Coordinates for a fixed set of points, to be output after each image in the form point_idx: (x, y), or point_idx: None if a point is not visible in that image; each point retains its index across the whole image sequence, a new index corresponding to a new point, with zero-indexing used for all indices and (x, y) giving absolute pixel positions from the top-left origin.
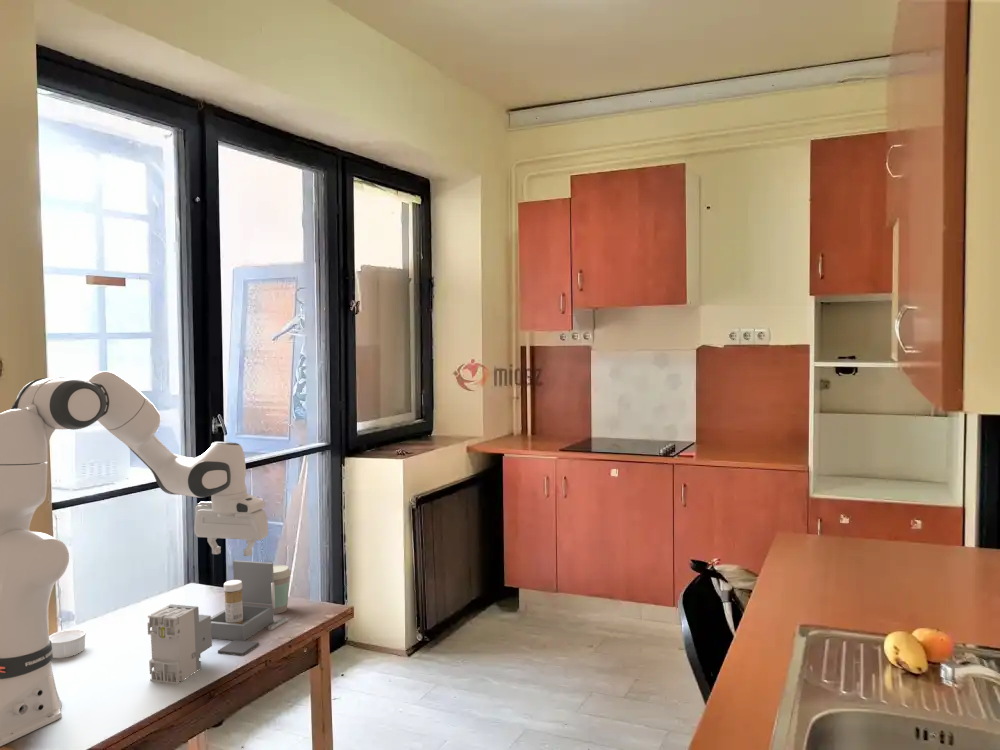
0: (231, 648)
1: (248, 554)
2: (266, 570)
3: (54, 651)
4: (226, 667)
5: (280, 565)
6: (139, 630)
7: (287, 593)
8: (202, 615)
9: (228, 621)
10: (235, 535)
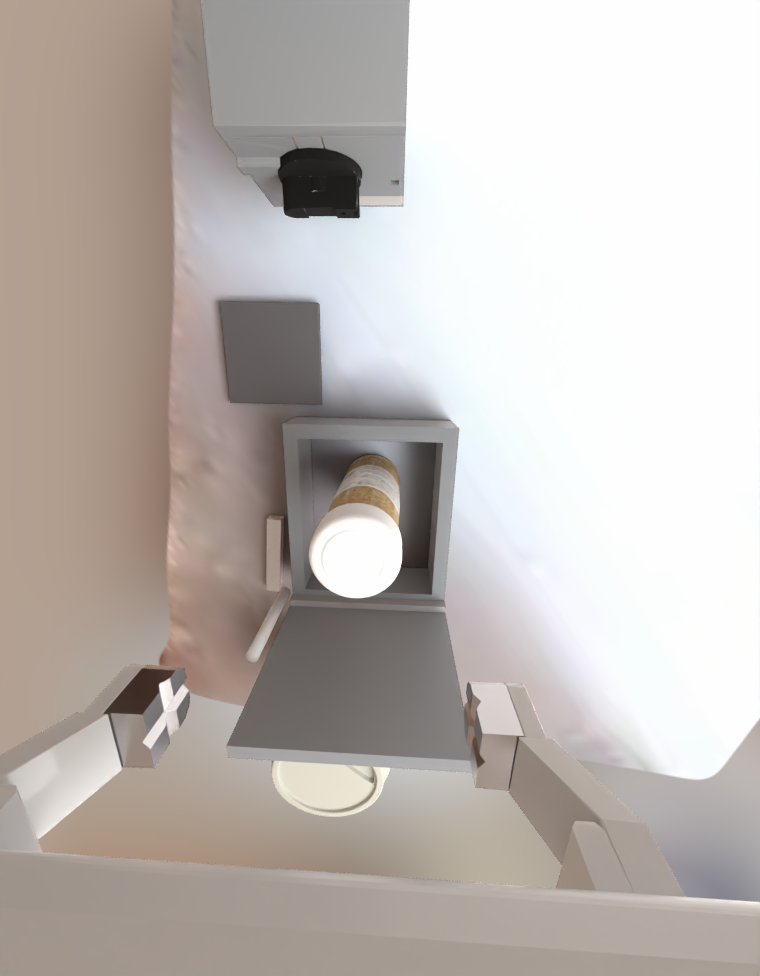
0: (283, 332)
1: (121, 676)
2: (272, 712)
3: None
4: (209, 189)
5: (331, 812)
6: (717, 432)
7: None
8: (264, 115)
9: (374, 466)
10: (31, 943)
